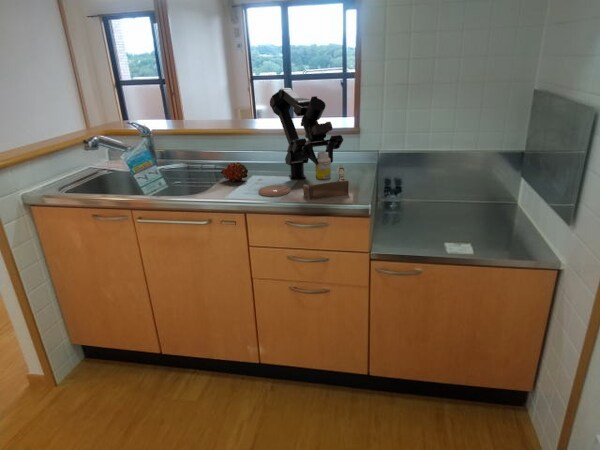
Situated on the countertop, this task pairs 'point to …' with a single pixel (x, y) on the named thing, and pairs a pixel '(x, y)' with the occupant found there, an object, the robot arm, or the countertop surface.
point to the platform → (341, 171)
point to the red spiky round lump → (235, 172)
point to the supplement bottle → (323, 167)
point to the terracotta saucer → (274, 190)
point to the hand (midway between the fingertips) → (324, 163)
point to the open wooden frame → (326, 189)
